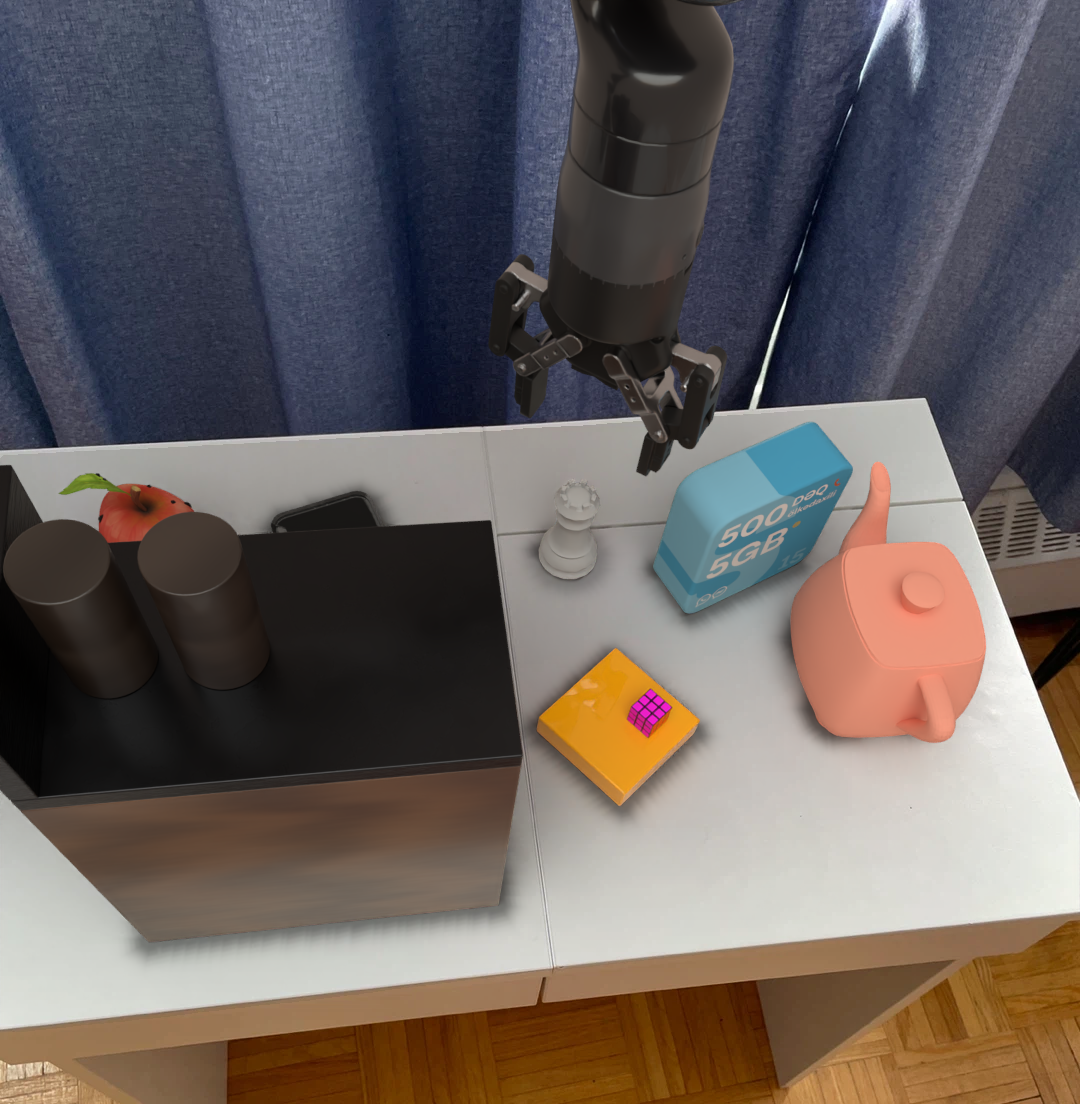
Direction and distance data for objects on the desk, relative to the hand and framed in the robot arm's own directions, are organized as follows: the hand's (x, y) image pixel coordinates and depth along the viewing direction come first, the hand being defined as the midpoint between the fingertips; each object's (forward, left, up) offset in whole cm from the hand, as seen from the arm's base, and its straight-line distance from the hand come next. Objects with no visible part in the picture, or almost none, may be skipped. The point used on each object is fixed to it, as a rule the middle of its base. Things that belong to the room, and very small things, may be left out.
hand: (589, 436), depth 70 cm
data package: (+11, +6, -14) cm, 19 cm away
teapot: (+23, +3, -14) cm, 27 cm away
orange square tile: (+10, -11, -14) cm, 20 cm away
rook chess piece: (0, 0, -14) cm, 14 cm away
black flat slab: (-3, -28, +9) cm, 29 cm away
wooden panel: (-3, -28, -14) cm, 31 cm away
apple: (-25, -17, -14) cm, 33 cm away
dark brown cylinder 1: (-9, -32, +10) cm, 35 cm away
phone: (-12, -11, -14) cm, 21 cm away
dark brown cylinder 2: (-5, -29, +10) cm, 31 cm away
